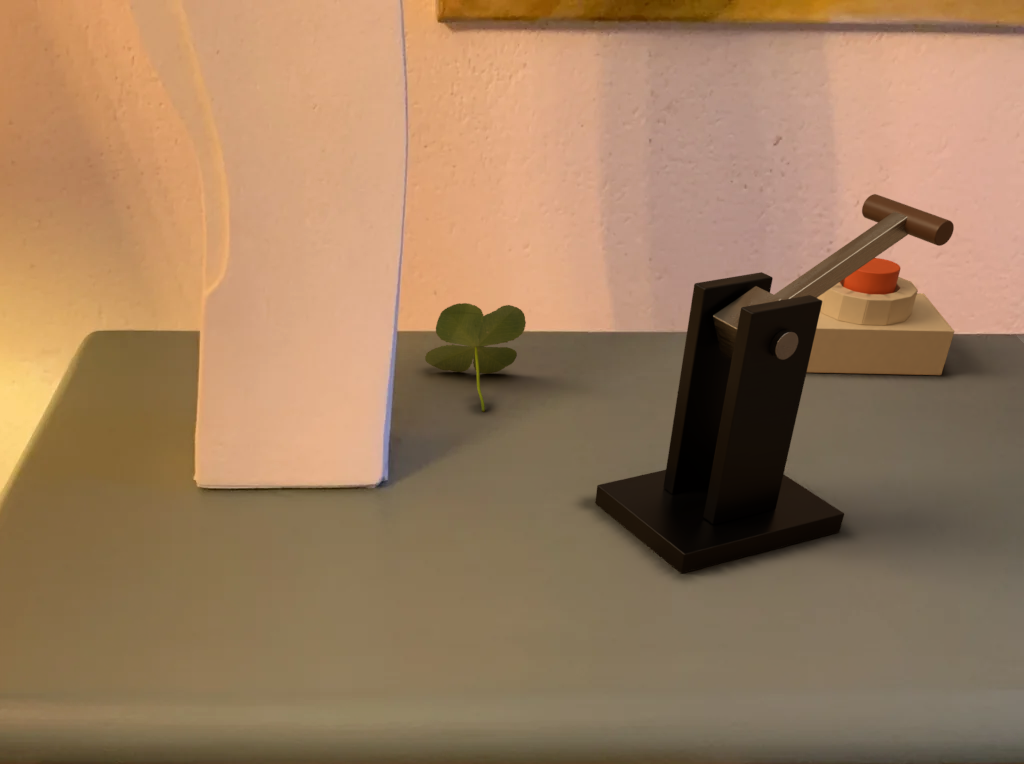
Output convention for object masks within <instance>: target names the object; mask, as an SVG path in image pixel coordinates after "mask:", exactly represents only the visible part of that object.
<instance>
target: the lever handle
mask: <svg viewBox="0 0 1024 764" xmlns="http://www.w3.org/2000/svg"><path fill="white" fill-rule="evenodd" d="M861 214H862V216H863V218H864V219H867V220H870V221H872V222H875V224H874V225H872V226H871V227H869V228H868V229H867V230H865V231H864V232H862V233H861V234H860V235H858V236H857V237H855V238H854V239H852V240H851V241H849V242H848V243H846V244H845V245H843V246H842V247H841V248H839V249H838V250H836V251H835V252H833V253H832V254H830V255H829V256H828V257H826V258H825V259H824V260H822V261H820V262H819V263H817V264H816V265H815V266H813V267H812V268H810V269H809V270H808V271H806V272H805V273H803V274H802V275H800V276H798V277H797V278H795V279H794V280H793V281H791V282H790V283H788V284H787V285H786V286H785V287H783V288H782V289H780V290H778V291H777V292H776V293H771V292H770V293H769V292H767V291H765V290H763V289H761V288H759V287H757V286H755V287H754V288H752V289H751V290H749V291H748V292H746V293H745V294H744V295H742V296H741V297H739V298H738V299H736V300H735V301H733V302H732V303H731V304H729V305H728V306H726V307H725V308H723V309H722V310H720V311H719V312H718V313H716V314H715V315H713V320H714V324H715V329H716V333H717V337H718V342H719V346H720V351H721V354H722V355H724V356H726V357H727V358H729V359H731V360H732V355H733V349H734V344H735V338H736V333H737V327H738V322H739V316H740V311H741V308H742V307H746V306H751V305H757V304H763V303H768V302H774V301H780V300H785V299H791V298H797V297H802V296H808V295H811V296H814V297H816V298H817V297H819V296H820V295H822V294H823V293H825V292H826V291H827V290H829V289H830V288H832V287H833V286H835V285H836V284H838V283H839V282H840V281H842V280H843V279H845V278H846V277H848V276H849V275H851V274H852V273H853V272H855V271H856V270H858V269H859V268H861V267H862V266H864V265H865V264H866V263H868V262H869V261H871V260H872V259H874V258H878V256H879V255H881V254H882V253H885V251H886V250H889V248H891V247H893V246H894V245H896V244H897V243H899V241H902V240H903V239H904V238H906V237H907V236H908V235H909V236H911V237H914V238H917V239H919V240H921V241H924V242H927V243H930V244H933V245H935V246H937V247H941V246H943V245H945V244H947V243H948V242H949V240H950V239H951V238H952V236H953V233H954V230H955V227H954V226H955V225H954V223H953V221H951V220H950V219H947V218H945V217H942V216H938V215H936V214H932V213H930V212H927V211H924V210H921V209H918V208H916V207H913V206H911V205H908V204H905V203H902V202H899V201H897V200H894V199H890V198H888V197H885V196H884V195H879V194H876V193H873V194H870V195H869V196H868V197H866V199H865V200H864V202H863V203H862V206H861Z"/></svg>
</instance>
